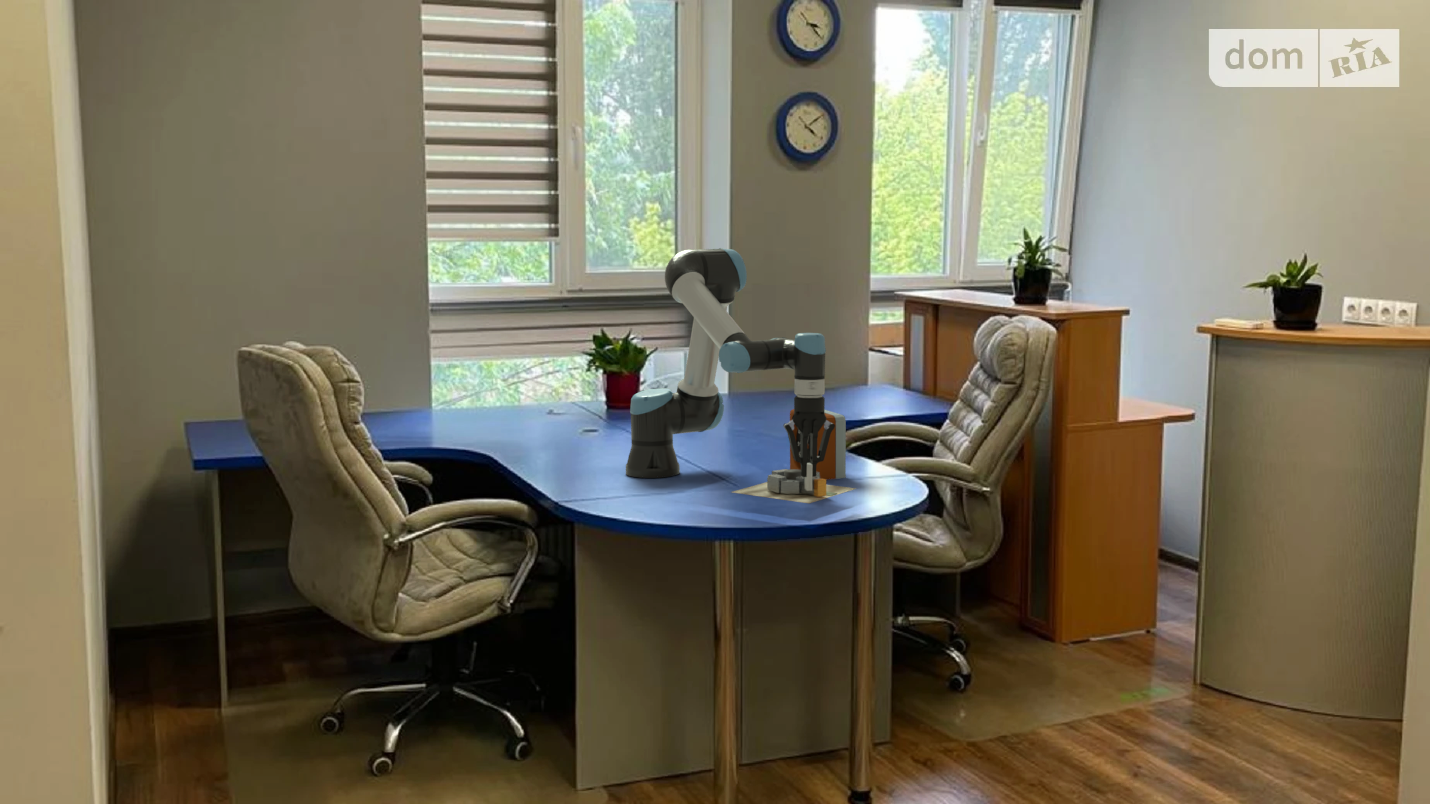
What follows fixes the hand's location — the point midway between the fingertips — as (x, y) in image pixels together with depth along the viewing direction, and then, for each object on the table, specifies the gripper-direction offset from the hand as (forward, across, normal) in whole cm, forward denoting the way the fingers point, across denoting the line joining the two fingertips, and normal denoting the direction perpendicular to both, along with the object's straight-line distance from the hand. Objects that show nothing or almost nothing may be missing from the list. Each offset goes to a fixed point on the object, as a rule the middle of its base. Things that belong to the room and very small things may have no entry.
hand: (808, 489), depth 335 cm
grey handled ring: (+2, -1, +7) cm, 7 cm away
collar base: (+4, -2, +10) cm, 10 cm away
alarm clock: (+4, +10, +31) cm, 33 cm away
